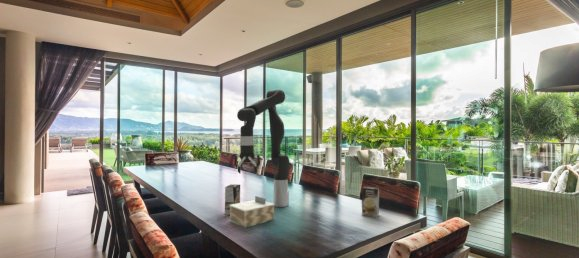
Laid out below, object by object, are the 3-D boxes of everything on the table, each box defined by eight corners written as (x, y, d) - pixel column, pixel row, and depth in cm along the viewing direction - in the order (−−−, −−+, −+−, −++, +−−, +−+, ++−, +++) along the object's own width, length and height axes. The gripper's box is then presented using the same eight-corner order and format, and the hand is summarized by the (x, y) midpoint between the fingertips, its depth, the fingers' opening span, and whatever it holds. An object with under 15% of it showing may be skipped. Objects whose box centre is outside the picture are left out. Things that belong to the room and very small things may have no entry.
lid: (258, 200, 173) (258, 194, 173) (274, 204, 162) (274, 198, 162) (229, 206, 159) (229, 199, 159) (245, 211, 149) (245, 204, 149)
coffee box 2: (361, 215, 172) (361, 187, 172) (363, 212, 178) (363, 185, 178) (377, 217, 168) (377, 189, 168) (379, 214, 174) (379, 187, 174)
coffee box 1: (234, 215, 170) (235, 187, 170) (224, 214, 172) (224, 186, 172) (240, 210, 179) (240, 184, 179) (230, 210, 181) (230, 183, 181)
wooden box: (258, 214, 172) (258, 200, 172) (273, 219, 162) (273, 205, 162) (230, 221, 159) (230, 206, 159) (245, 227, 149) (245, 211, 149)
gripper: (260, 143, 169) (260, 171, 170) (234, 144, 169) (235, 172, 169) (259, 144, 162) (259, 174, 162) (233, 145, 161) (233, 174, 161)
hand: (247, 173), depth 166 cm, fingers open, 8 cm apart
